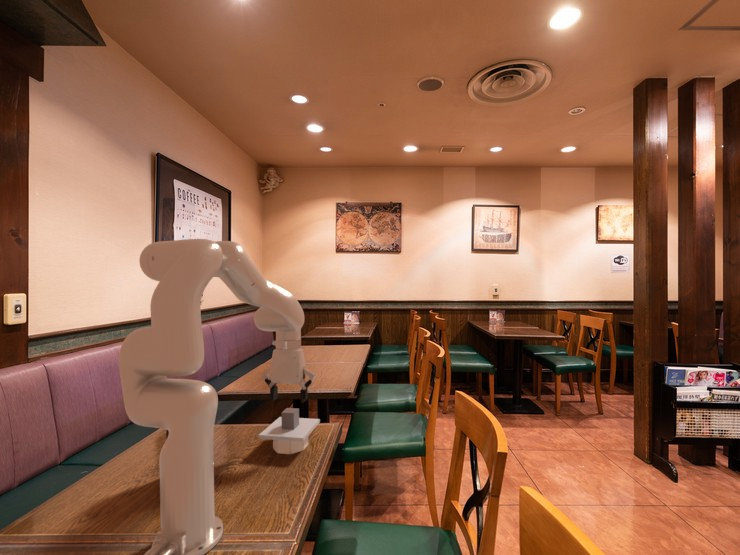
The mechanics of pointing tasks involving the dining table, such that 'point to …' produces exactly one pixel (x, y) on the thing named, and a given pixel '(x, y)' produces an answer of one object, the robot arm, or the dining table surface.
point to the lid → (290, 427)
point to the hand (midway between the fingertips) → (288, 400)
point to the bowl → (289, 446)
